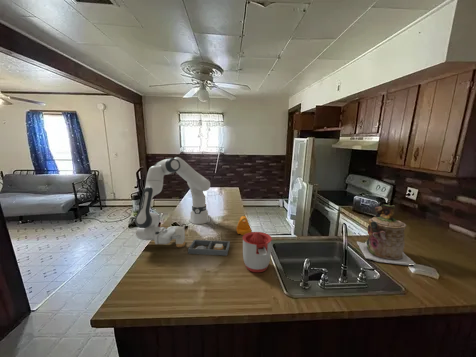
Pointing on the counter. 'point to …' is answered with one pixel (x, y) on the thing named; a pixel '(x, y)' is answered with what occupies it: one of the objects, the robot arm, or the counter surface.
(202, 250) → the grey divided tray
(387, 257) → the cookie jar
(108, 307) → the counter surface
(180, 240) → the white upright block
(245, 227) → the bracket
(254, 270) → the citrus juicer
